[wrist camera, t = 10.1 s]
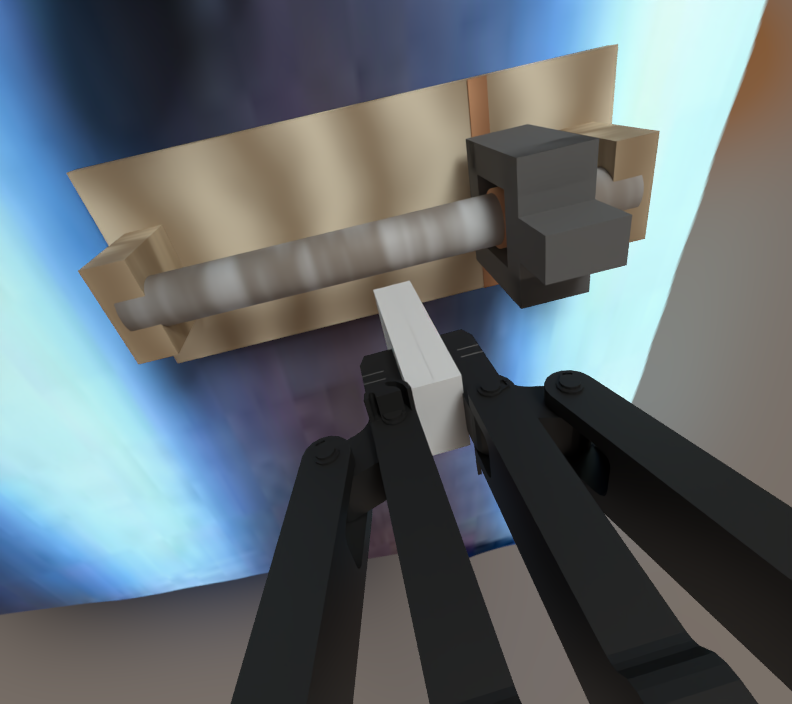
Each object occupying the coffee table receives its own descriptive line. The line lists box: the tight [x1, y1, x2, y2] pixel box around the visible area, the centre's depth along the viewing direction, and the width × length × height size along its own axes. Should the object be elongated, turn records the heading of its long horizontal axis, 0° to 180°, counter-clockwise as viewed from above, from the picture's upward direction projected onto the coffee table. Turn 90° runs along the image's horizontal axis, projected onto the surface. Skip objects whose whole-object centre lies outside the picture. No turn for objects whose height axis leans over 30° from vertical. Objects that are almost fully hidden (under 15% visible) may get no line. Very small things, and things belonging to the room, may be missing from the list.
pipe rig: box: [67, 44, 660, 364], centre depth 27 cm, size 34×14×8 cm, turn 101°
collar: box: [466, 124, 632, 309], centre depth 24 cm, size 4×8×11 cm, turn 11°
